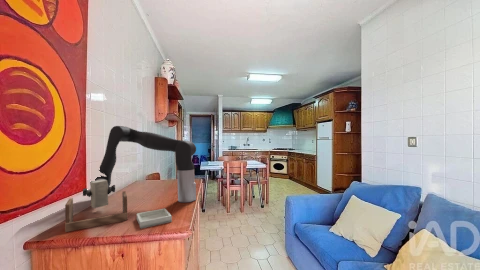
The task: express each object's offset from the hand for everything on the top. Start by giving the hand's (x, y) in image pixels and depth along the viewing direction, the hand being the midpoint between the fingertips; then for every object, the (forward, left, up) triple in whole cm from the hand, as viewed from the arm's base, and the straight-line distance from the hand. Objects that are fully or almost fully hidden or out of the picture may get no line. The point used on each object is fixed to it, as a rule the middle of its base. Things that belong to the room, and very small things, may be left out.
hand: (99, 193), depth 103 cm
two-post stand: (0, +11, -10) cm, 14 cm away
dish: (-20, +24, -10) cm, 33 cm away
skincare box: (0, -2, -7) cm, 7 cm away
